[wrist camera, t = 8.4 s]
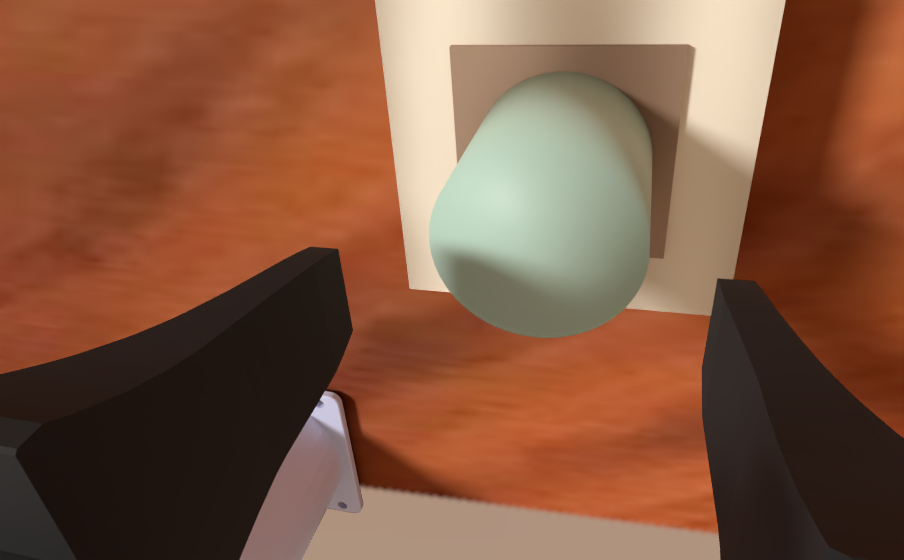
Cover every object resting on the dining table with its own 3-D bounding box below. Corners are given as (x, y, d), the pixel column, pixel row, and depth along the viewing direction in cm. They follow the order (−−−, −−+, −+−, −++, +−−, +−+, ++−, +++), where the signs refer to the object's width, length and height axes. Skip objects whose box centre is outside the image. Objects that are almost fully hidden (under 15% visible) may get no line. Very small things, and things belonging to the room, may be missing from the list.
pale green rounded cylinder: (480, 228, 21) (437, 326, 17) (473, 70, 18) (420, 141, 14) (644, 239, 20) (639, 347, 16) (661, 72, 17) (661, 150, 13)
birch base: (433, 244, 25) (407, 291, 23) (406, -53, 20) (368, -34, 17) (719, 265, 23) (726, 320, 20) (777, -67, 17) (796, -48, 15)
